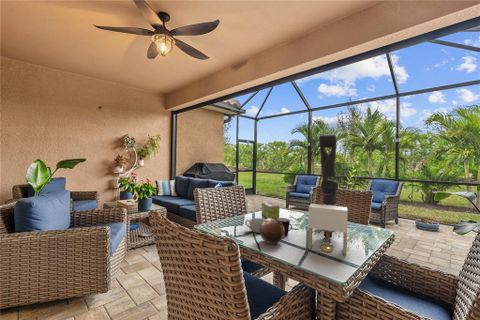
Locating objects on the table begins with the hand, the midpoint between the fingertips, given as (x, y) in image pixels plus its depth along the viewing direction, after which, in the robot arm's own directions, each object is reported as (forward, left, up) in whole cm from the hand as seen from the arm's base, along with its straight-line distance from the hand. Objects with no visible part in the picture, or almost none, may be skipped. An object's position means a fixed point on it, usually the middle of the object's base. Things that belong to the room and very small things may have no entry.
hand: (328, 237), depth 148 cm
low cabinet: (+12, +14, -1) cm, 18 cm away
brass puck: (+13, +16, -1) cm, 20 cm away
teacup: (+41, -25, -1) cm, 48 cm away
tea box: (+21, -44, -1) cm, 49 cm away
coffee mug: (+25, -13, -1) cm, 28 cm away
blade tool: (+4, +5, -1) cm, 7 cm away
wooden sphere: (+39, -2, -1) cm, 39 cm away
